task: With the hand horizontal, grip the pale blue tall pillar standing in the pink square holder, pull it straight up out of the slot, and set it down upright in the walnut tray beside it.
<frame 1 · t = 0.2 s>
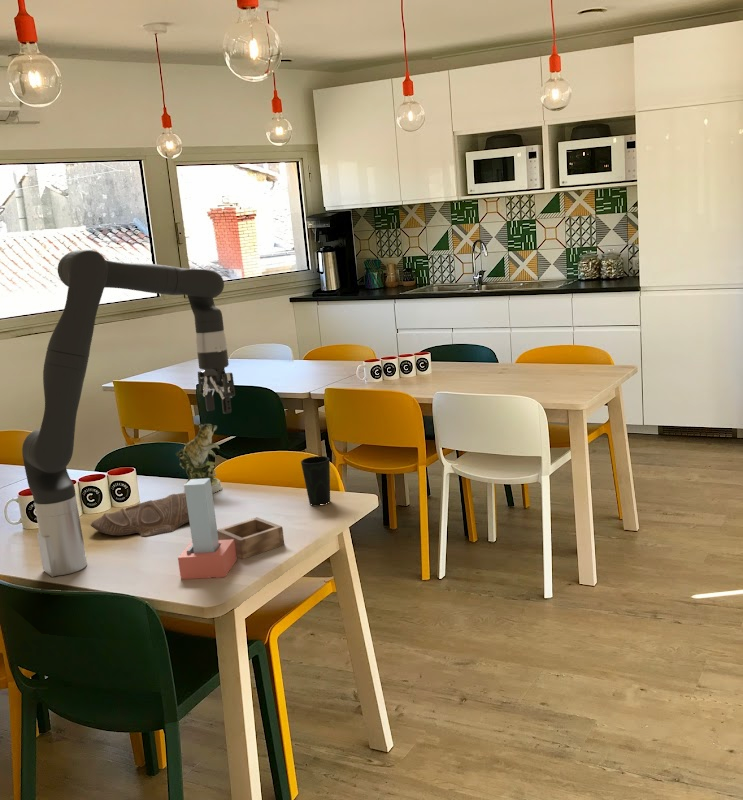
hand: (219, 412, 235), 29 cm above the table, tool pointing down, fingers open, 8 cm apart
pink square holder: (209, 569, 205), on the table
cup: (320, 503, 246), on the table
decorative mask: (150, 525, 243), on the table
figurine: (203, 491, 269), on the table
pale blue tall pillar: (209, 567, 205), resting on pink square holder
tray: (251, 546, 217), on the table
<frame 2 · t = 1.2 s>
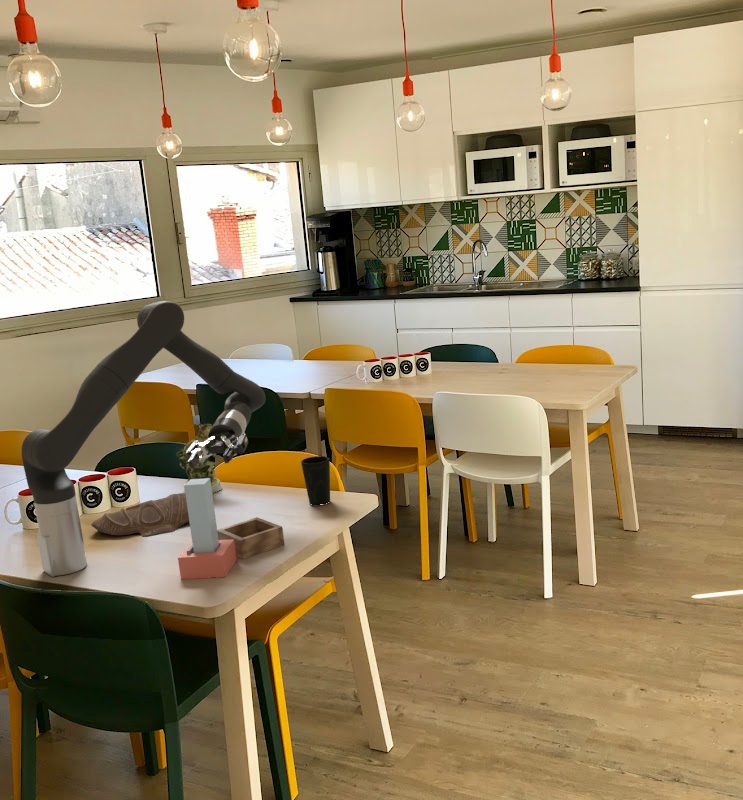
hand: (208, 462, 213), 21 cm above the table, tool horizontal, fingers open, 8 cm apart
nothing on the table moved.
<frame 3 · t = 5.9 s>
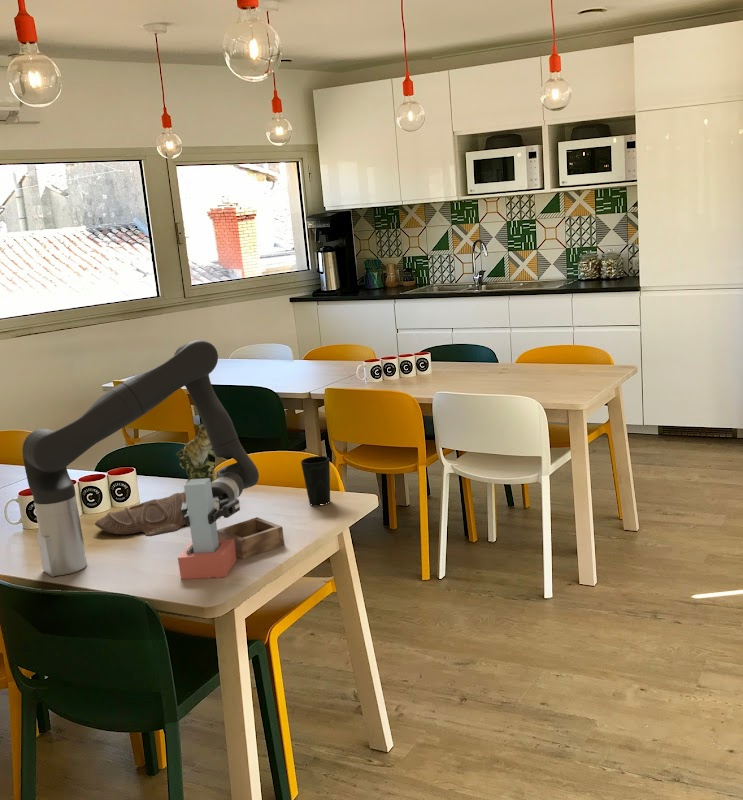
hand: (198, 520, 200), 12 cm above the table, tool horizontal, fingers closed on pale blue tall pillar, 4 cm apart
pale blue tall pillar: (209, 567, 205), point 1 cm above the table, touching pink square holder, gripper
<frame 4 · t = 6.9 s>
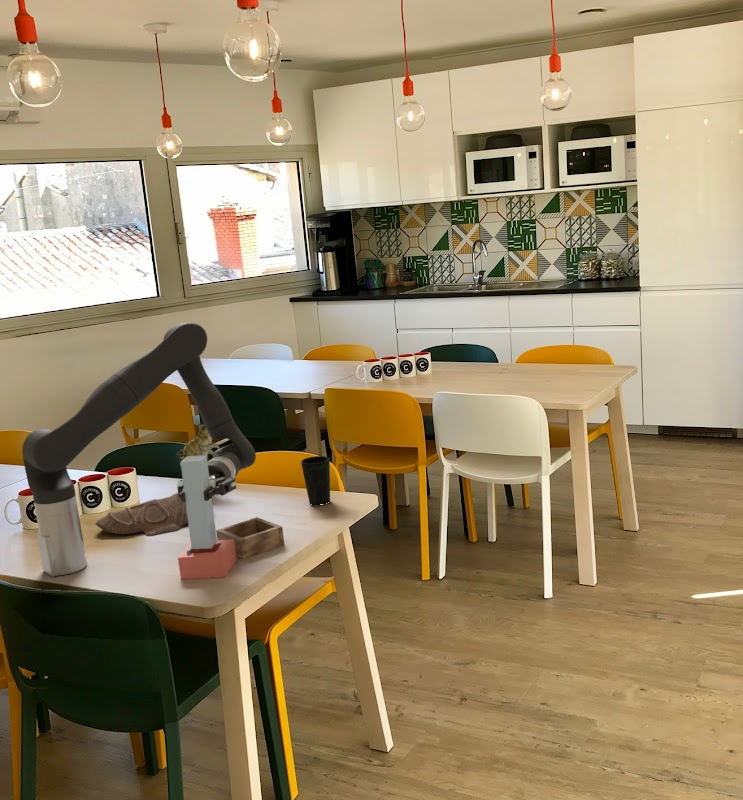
hand: (194, 497, 198), 18 cm above the table, tool horizontal, fingers closed on pale blue tall pillar, 4 cm apart
pale blue tall pillar: (204, 545, 203), point 6 cm above the table, touching gripper
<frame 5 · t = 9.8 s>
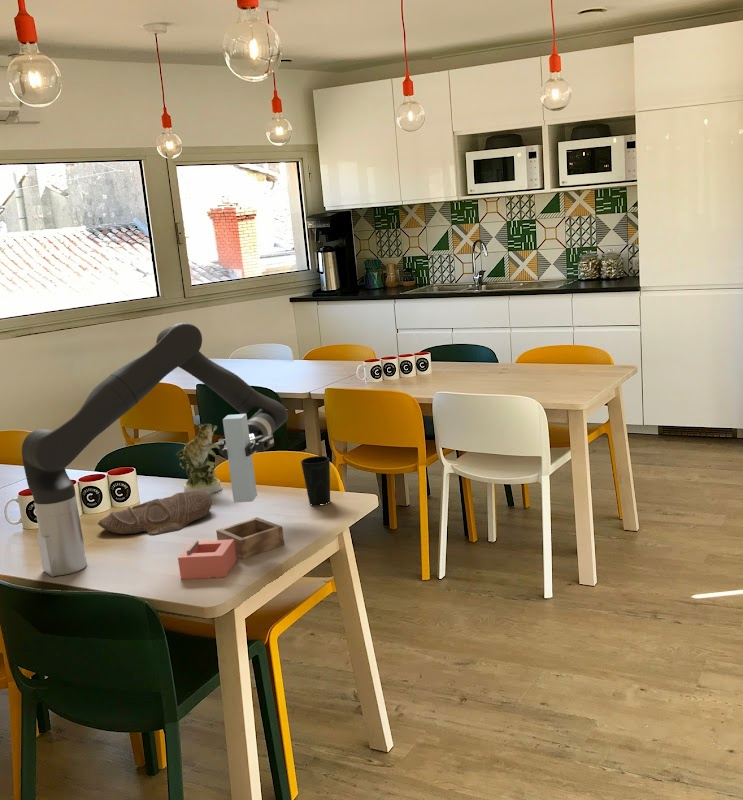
hand: (236, 453, 210), 24 cm above the table, tool horizontal, fingers closed on pale blue tall pillar, 4 cm apart
pale blue tall pillar: (245, 499, 215), point 12 cm above the table, touching gripper
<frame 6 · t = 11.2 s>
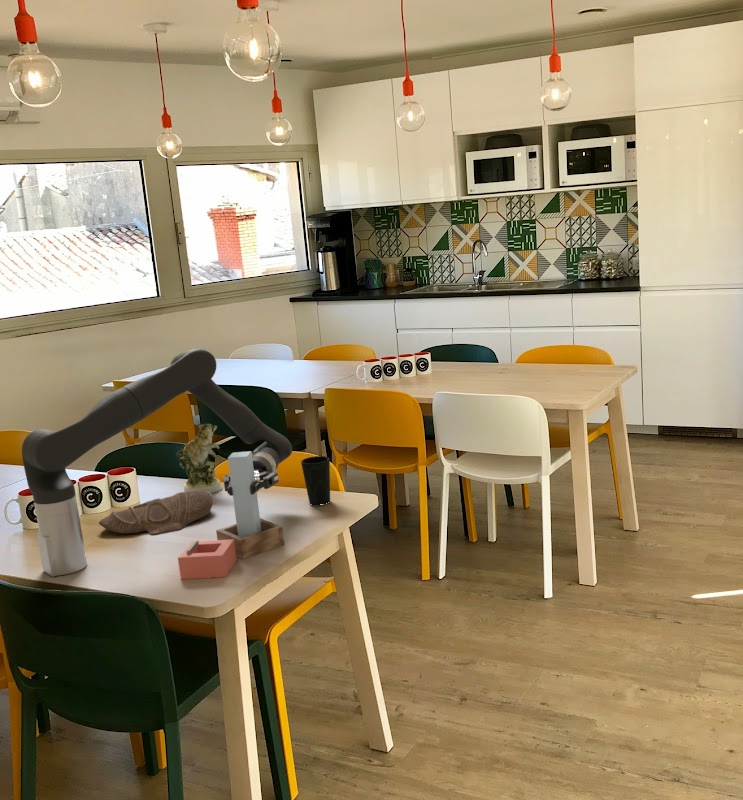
hand: (241, 490, 211), 15 cm above the table, tool horizontal, fingers closed on pale blue tall pillar, 4 cm apart
pale blue tall pillar: (250, 535, 216), point 3 cm above the table, touching gripper
when the fingers open (14 cm above the table, at t = 11.8 s): pale blue tall pillar stays where it is, resting on tray.
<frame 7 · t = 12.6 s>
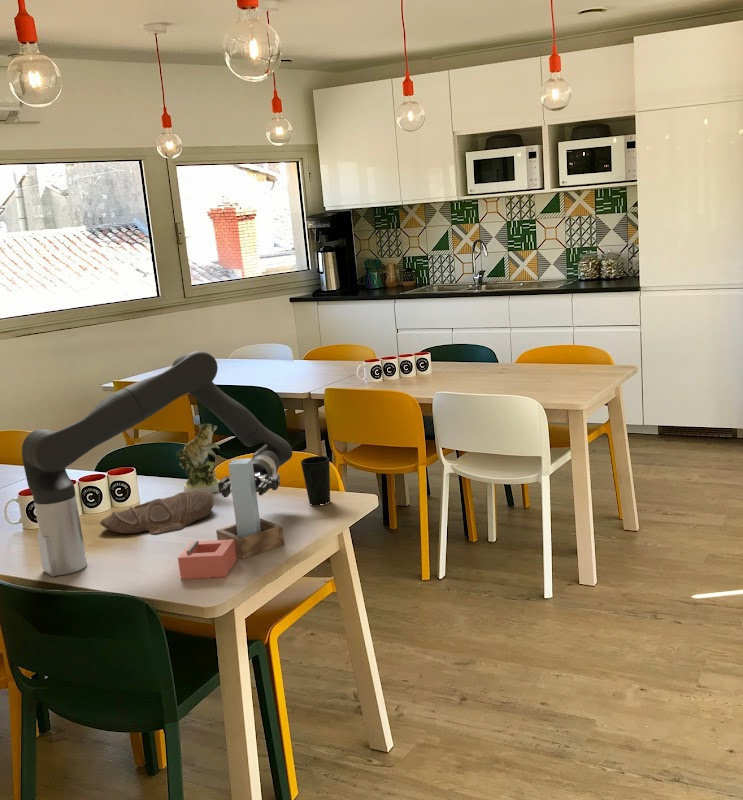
hand: (242, 492, 212), 14 cm above the table, tool horizontal, fingers open, 8 cm apart
pale blue tall pillar: (250, 542, 217), point 1 cm above the table, touching tray
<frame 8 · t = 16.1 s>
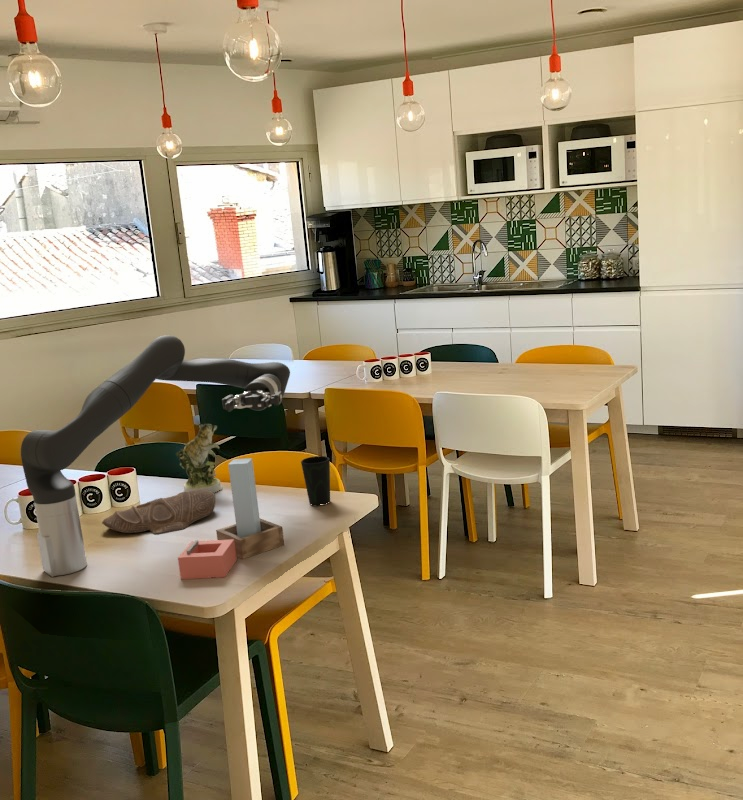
hand: (245, 406, 221), 32 cm above the table, tool horizontal, fingers open, 8 cm apart
at the end: pale blue tall pillar inside the target area on the tray (0.1 cm from its centre), point 1.0 cm above the tray's base; pale blue tall pillar tilted 0°; the gripper is holding nothing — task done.
